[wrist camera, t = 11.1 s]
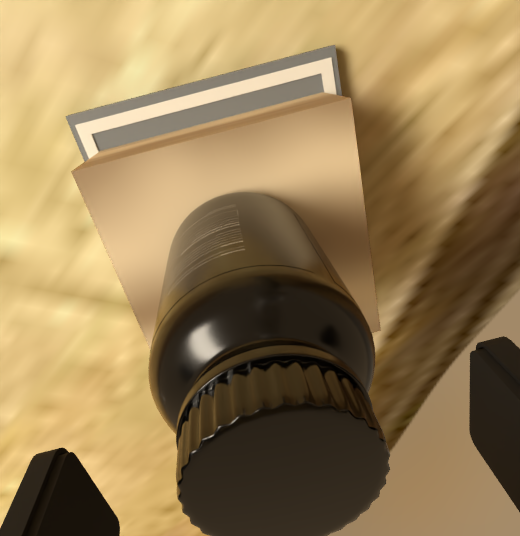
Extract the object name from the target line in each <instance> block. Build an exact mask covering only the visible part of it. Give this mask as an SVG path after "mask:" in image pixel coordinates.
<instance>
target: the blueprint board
mask: <svg viewBox="0 0 520 536" xmlns="http://www.w3.org/2000/svg"><path fill="white" fill-rule="evenodd" d="M321 92H324V93H329V94H334V95H339V96H342V92H341V85H340V77H339V70H338V63H337V55H336V48H335V45H332V46H328V47H324V48H320V49H317V50H313V51H309V52H305V53H302V54H298V55H294V56H290V57H286V58H283V59H279V60H275V61H271V62H268V63H264V64H260V65H256V66H253V67H249V68H245V69H241V70H237V71H234V72H230V73H226V74H222V75H219V76H215V77H211V78H207V79H203V80H200V81H196V82H192V83H188V84H185V85H181V86H177V87H173V88H170V89H166V90H162V91H158V92H154V93H151V94H147V95H143V96H139V97H136V98H132V99H128V100H124V101H120V102H117V103H113V104H109V105H105V106H102V107H98V108H94V109H90V110H86V111H83V112H79V113H75V114H71V115H68V116H66V119H67V121H68V123H69V126H70V128H71V131H72V133H73V135H74V138H75V140H76V142H77V145H78V147H79V149H80V152H81V154H82V156H83V159H84V161H87V160H88V159H90V158H91V157H92V156H94V155H95V154H97V153H98V152H99V151H101V150H105V149H109V148H113V147H117V146H120V145H124V144H128V143H132V142H135V141H139V140H143V139H147V138H151V137H154V136H158V135H162V134H166V133H170V132H173V131H177V130H181V129H185V128H189V127H192V126H196V125H200V124H204V123H207V122H211V121H215V120H219V119H223V118H226V117H230V116H234V115H238V114H242V113H245V112H249V111H253V110H257V109H260V108H264V107H268V106H272V105H276V104H279V103H283V102H287V101H291V100H295V99H298V98H302V97H306V96H310V95H314V94H317V93H321Z"/></svg>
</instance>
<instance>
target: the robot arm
mask: <svg viewBox="0 0 520 536" xmlns="http://www.w3.org/2000/svg"><path fill="white" fill-rule="evenodd" d="M470 435H471V438H472V440H473V443H474V445H475V446H476V448H477V450H478V451H479V452H480V454H481V456H482V457H483V458H484V460H485V461H486V463H487V464H488V466H489V467H490V469H491V470H492V472H493V473H494V475H495V476H496V478H497V479H498V481H499V482H500V483H501V485H502V486H503V488H504V489H505V491H506V492H507V494H508V495H509V497H510V498H511V500H512V501H513V503H514V504H515V506H516V507H517V509H518V510H519V512H520V349H519V348H518V347H517V346H516V345H515V344H514V343H513V342H512V341H511V340H510V339H508V338H507V337H499V338H495V339H491V340H488V341H484V342H480V343H478V344H477V345H476V350H475V351H472V352H471V353H470ZM119 534H120V526H119V521H118V518H117V517H116V515H115V514H114V512H113V511H112V509H111V508H110V506H109V505H108V503H107V502H106V500H105V499H104V497H103V495H102V494H101V492H100V491H99V489H98V488H97V486H96V485H95V483H94V482H93V480H92V479H91V477H90V476H89V474H88V473H87V471H86V470H85V468H84V467H83V465H82V464H81V462H80V461H79V459H78V458H77V456H76V455H75V454H74V453H73V452H70V453H69V452H68V451H67V450H66V449H65V448H59V449H55V450H51V451H47V452H43V453H39V454H36V455H35V456H34V457H33V459H32V460H31V462H30V464H29V466H28V469H27V471H26V473H25V475H24V477H23V480H22V482H21V484H20V486H19V489H18V491H17V493H16V495H15V497H14V500H13V502H12V504H11V506H10V508H9V511H8V513H7V515H6V517H5V519H4V522H3V524H2V526H1V528H0V536H119Z"/></svg>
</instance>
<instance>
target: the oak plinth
mask: <svg viewBox="0 0 520 536" xmlns="http://www.w3.org/2000/svg"><path fill="white" fill-rule="evenodd" d="M71 172H72V174H73V177H74V179H75V181H76V183H77V186H78V188H79V190H80V192H81V195H82V197H83V199H84V201H85V204H86V206H87V208H88V210H89V213H90V215H91V217H92V219H93V222H94V224H95V226H96V228H97V231H98V233H99V235H100V237H101V240H102V242H103V244H104V246H105V249H106V251H107V253H108V255H109V258H110V260H111V262H112V264H113V267H114V269H115V271H116V273H117V276H118V278H119V280H120V283H121V285H122V287H123V289H124V292H125V294H126V296H127V298H128V301H129V303H130V305H131V307H132V310H133V312H134V314H135V316H136V319H137V321H138V323H139V325H140V328H141V330H142V332H143V334H144V337H145V339H146V341H147V343H148V346H149V348H150V349H151V344H152V339H153V333H154V328H155V323H156V318H157V312H158V307H159V302H160V297H161V292H162V286H163V281H164V276H165V271H166V266H167V260H168V256H169V252H170V248H171V244H172V241H173V238H174V236H175V234H176V232H177V230H178V228H179V227H180V225H181V224H182V222H183V221H184V220H185V218H186V217H187V216H188V215H189V214H190V213H191V212H192V211H194V210H195V209H196V208H197V207H199V206H200V205H202V204H203V203H205V202H207V201H209V200H211V199H213V198H215V197H218V196H221V195H225V194H229V193H236V192H254V193H260V194H264V195H268V196H271V197H273V198H276V199H278V200H280V201H282V202H283V203H285V204H286V205H288V206H289V207H290V208H292V209H293V210H294V211H295V212H296V213H297V214H298V215H299V216H300V217H301V218H302V220H303V221H304V222H305V224H306V225H307V226H308V228H309V229H310V231H311V232H312V234H313V235H314V237H315V239H316V240H317V242H318V243H319V245H320V246H321V248H322V250H323V251H324V253H325V254H326V256H327V257H328V259H329V260H330V262H331V264H332V265H333V267H334V268H335V270H336V271H337V273H338V275H339V276H340V278H341V279H342V281H343V282H344V284H345V286H346V287H347V289H348V290H349V292H350V293H351V295H352V296H353V298H354V300H355V301H356V303H357V304H358V306H359V308H360V309H361V311H362V313H363V315H364V317H365V319H366V321H367V323H368V325H369V327H370V330H371V333H373V332H377V331H381V330H380V322H379V314H378V306H377V298H376V290H375V282H374V275H373V267H372V259H371V251H370V243H369V235H368V227H367V220H366V212H365V204H364V196H363V188H362V180H361V172H360V164H359V157H358V149H357V141H356V133H355V125H354V117H353V109H352V101H351V98H349V97H344V96H339V95H334V94H329V93H324V92H321V93H317V94H314V95H310V96H306V97H302V98H298V99H295V100H291V101H287V102H283V103H279V104H276V105H272V106H268V107H264V108H260V109H257V110H253V111H249V112H245V113H242V114H238V115H234V116H230V117H226V118H223V119H219V120H215V121H211V122H207V123H204V124H200V125H196V126H192V127H189V128H185V129H181V130H177V131H173V132H170V133H166V134H162V135H158V136H154V137H151V138H147V139H143V140H139V141H135V142H132V143H128V144H124V145H120V146H117V147H113V148H109V149H105V150H101V151H99V152H98V153H97V154H95V155H94V156H92V157H91V158H90V159H88V160H87V161H85V162H84V163H83V164H81V165H80V166H78V167H77V168H76V169H74V170H73V171H71Z"/></svg>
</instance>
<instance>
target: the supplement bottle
mask: <svg viewBox="0 0 520 536" xmlns="http://www.w3.org/2000/svg"><path fill="white" fill-rule="evenodd" d="M374 368H375V347H374V341H373V337H372V333H371V330H370V327H369V325H368V323H367V321H366V319H365V317H364V315H363V313H362V311H361V309H360V308H359V306H358V304H357V303H356V301H355V300H354V298H353V296H352V295H351V293H350V292H349V290H348V289H347V287H346V286H345V284H344V282H343V281H342V279H341V278H340V276H339V275H338V273H337V271H336V270H335V268H334V267H333V265H332V264H331V262H330V260H329V259H328V257H327V256H326V254H325V253H324V251H323V250H322V248H321V246H320V245H319V243H318V242H317V240H316V239H315V237H314V235H313V234H312V232H311V231H310V229H309V228H308V226H307V225H306V224H305V222H304V221H303V220H302V218H301V217H300V216H299V215H298V214H297V213H296V212H295V211H294V210H293V209H292V208H290V207H289V206H288V205H286V204H285V203H283V202H282V201H280V200H278V199H276V198H273V197H271V196H268V195H264V194H260V193H254V192H236V193H229V194H225V195H221V196H218V197H215V198H213V199H211V200H209V201H207V202H205V203H203V204H202V205H200V206H199V207H197V208H196V209H195V210H194V211H192V212H191V213H190V214H189V215H188V216H187V217H186V218H185V220H184V221H183V222H182V224H181V225H180V227H179V228H178V230H177V232H176V234H175V236H174V238H173V241H172V244H171V248H170V252H169V256H168V260H167V266H166V271H165V276H164V281H163V286H162V292H161V297H160V302H159V307H158V312H157V318H156V323H155V328H154V333H153V339H152V344H151V349H150V358H149V383H150V389H151V393H152V396H153V399H154V402H155V404H156V406H157V409H158V410H159V412H160V414H161V416H162V417H163V419H164V420H165V422H166V423H167V424H168V426H169V427H170V428H171V429H172V430H173V432H174V433H175V434H176V443H177V450H178V455H177V469H176V480H177V497H178V500H179V501H180V502H181V503H182V511H183V513H184V514H186V515H187V516H188V517H190V521H191V524H193V525H195V526H197V527H199V528H200V530H201V531H202V533H204V534H207V535H210V536H327V535H329V534H330V533H333V532H336V531H339V530H341V529H342V528H343V527H344V526H345V525H347V524H349V523H351V522H353V521H355V520H356V519H357V518H358V517H359V515H360V514H361V513H363V512H365V511H366V510H368V509H369V507H370V505H371V503H372V502H373V501H374V500H375V499H377V498H378V497H379V494H380V490H381V489H382V487H383V486H384V485H385V484H386V478H385V477H386V475H387V474H388V472H389V470H390V467H389V464H388V460H389V457H390V453H389V449H388V447H387V445H386V440H385V436H384V433H383V431H382V429H381V427H380V425H379V423H378V421H377V419H376V417H375V415H374V413H373V408H372V404H371V400H370V397H369V395H368V392H369V390H370V387H371V383H372V379H373V374H374Z"/></svg>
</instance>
